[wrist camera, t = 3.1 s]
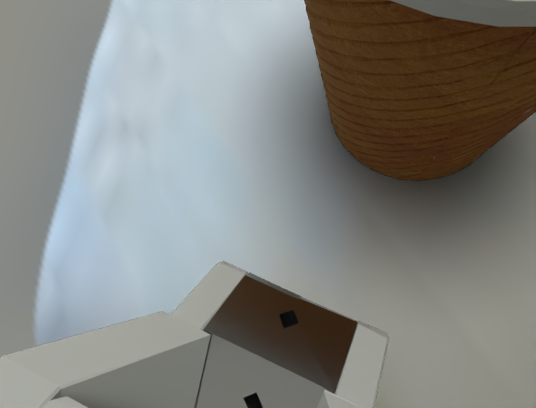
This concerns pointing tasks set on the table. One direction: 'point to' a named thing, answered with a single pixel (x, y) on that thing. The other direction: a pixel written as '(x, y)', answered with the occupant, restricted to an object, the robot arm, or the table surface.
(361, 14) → the disposable coffee cup
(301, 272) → the table surface
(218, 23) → the table surface
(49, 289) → the table surface
